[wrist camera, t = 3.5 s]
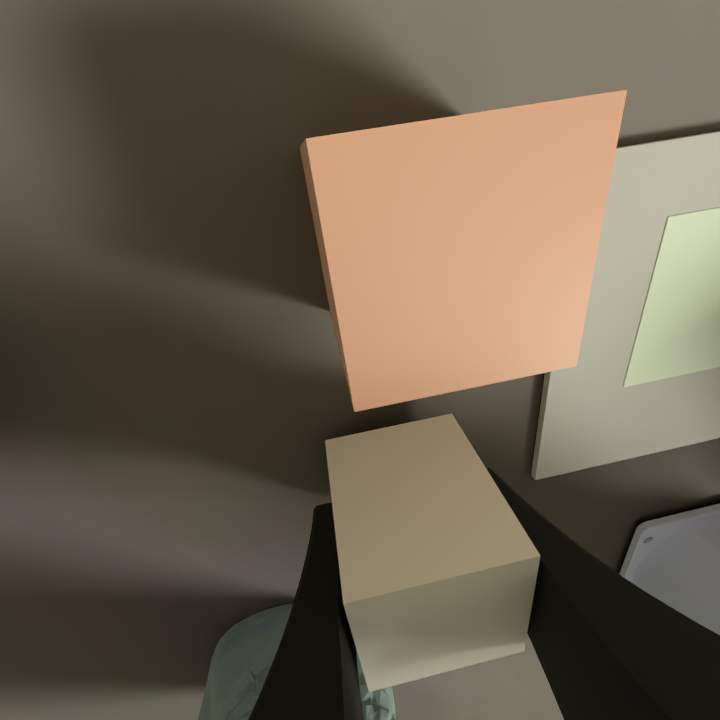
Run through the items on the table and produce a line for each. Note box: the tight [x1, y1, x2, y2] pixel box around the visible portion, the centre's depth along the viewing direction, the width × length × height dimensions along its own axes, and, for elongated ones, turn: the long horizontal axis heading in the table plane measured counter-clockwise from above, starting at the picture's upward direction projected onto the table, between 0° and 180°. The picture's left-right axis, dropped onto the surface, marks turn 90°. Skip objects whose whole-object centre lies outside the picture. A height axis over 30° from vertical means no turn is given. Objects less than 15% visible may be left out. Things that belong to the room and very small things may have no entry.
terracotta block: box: [300, 90, 627, 412], centre depth 8 cm, size 4×4×5 cm
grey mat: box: [531, 131, 720, 480], centre depth 13 cm, size 12×12×1 cm
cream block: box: [325, 413, 540, 692], centre depth 11 cm, size 4×4×5 cm
